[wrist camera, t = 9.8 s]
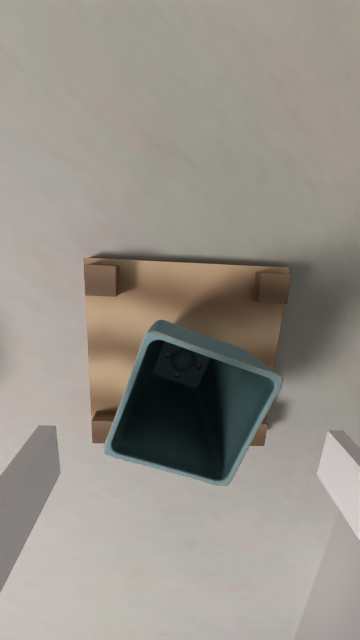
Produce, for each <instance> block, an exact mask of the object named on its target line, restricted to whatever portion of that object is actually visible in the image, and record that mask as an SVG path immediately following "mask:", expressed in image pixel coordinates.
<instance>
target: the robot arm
mask: <svg viewBox="0 0 360 640" xmlns="http://www.w3.org/2000/svg"><path fill="white" fill-rule="evenodd" d="M59 475H60V463H59V453H58V443H57V434H56V426H38V427H37V429H36V430H35V431H34V433H33V434H32V435H31V437H30V438H29V439H28V440H27V442H26V443H25V444H24V446H23V447H22V448H21V450H20V451H19V452H18V454H17V455H16V456H15V457H14V459H13V460H12V461H11V463H10V464H9V465H8V467H7V468H6V469H5V471H4V472H3V473H2V475H1V476H0V592H1V590H2V588H3V586H4V584H5V582H6V580H7V578H8V576H9V574H10V572H11V570H12V568H13V566H14V564H15V562H16V560H17V558H18V556H19V554H20V552H21V550H22V548H23V546H24V544H25V542H26V540H27V538H28V537H29V535H30V533H31V531H32V529H33V527H34V525H35V523H36V521H37V519H38V517H39V515H40V513H41V511H42V509H43V507H44V505H45V503H46V501H47V499H48V497H49V495H50V493H51V491H52V489H53V487H54V485H55V483H56V481H57V479H58V477H59ZM317 476H318V477H319V479H320V480H321V482H322V483H323V485H324V486H325V488H326V490H327V491H328V493H329V494H330V496H331V497H332V499H333V500H334V502H335V503H336V505H337V506H338V508H339V509H340V511H341V512H342V514H343V516H344V517H345V519H346V520H347V522H348V523H349V525H350V526H351V528H352V529H353V531H354V532H355V534H356V535H357V537H358V538H359V540H360V448H359V447H358V446H357V445H356V444H355V443H354V442H353V441H352V440H351V438H350V437H349V436H348V435H347V434H346V433H345V432H344V431H333V430H328V432H327V436H326V440H325V444H324V448H323V452H322V456H321V461H320V465H319V469H318V473H317Z"/></svg>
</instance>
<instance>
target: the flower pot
mask: <svg viewBox="0 0 360 640" xmlns="http://www.w3.org/2000/svg"><path fill="white" fill-rule="evenodd" d="M165 352H169V353H170V356H169V357H166V356H165ZM197 363H201V367H197V366H196V364H197ZM175 372H179V373H180V375H179V376H175ZM282 382H283V378H282V377H281V376H280V375H279V374H277V373H276V372H275V371H274V370H272V369H271V368H270V367H268V366H267V365H266V364H264V363H263V362H262V361H260V360H259V359H258V358H256V357H255V356H254V355H252V354H251V353H249V352H248V351H246V350H244V349H242V348H240V347H237V346H235V345H232V344H229V343H226V342H223V341H221V340H218V339H215V338H212V337H209V336H206V335H204V334H201V333H198V332H195V331H193V330H190V329H187V328H184V327H182V326H179V325H176V324H174V323H171V322H168V321H166V320H157V321H156V322H155V323H154V324H153V325H152V326H151V327H150V329H149V330H148V331H147V333H146V334H145V336H144V338H143V340H142V343H141V345H140V349H139V351H138V354H137V357H136V360H135V363H134V366H133V369H132V372H131V374H130V377H129V380H128V383H127V386H126V388H125V391H124V394H123V397H122V399H121V402H120V404H119V407H118V410H117V412H116V415H115V418H114V420H113V423H112V426H111V428H110V431H109V433H108V436H107V438H106V441H105V443H104V453H105V454H106V455H109V456H111V457H114V458H117V459H121V460H125V461H129V462H132V463H136V464H141V465H144V466H149V467H152V468H156V469H160V470H163V471H167V472H171V473H174V474H178V475H182V476H185V477H190V478H193V479H196V480H200V481H203V482H206V483H210V484H212V485H217V486H227V485H229V484H230V482H231V481H232V479H233V477H234V476H235V473H236V471H237V469H238V467H239V466H240V464H241V462H242V460H243V458H244V456H245V453H246V452H247V450H248V448H249V446H250V444H251V442H252V440H253V439H254V436H255V435H256V432H257V430H258V429H259V427H260V425H261V423H262V421H263V419H264V417H265V416H266V414H267V412H268V410H269V408H270V406H271V405H272V403H273V401H274V399H275V398H276V396H277V395H278V393H279V391H280V389H281V386H282Z"/></svg>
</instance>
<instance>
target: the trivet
mask: <svg viewBox="0 0 360 640" xmlns="http://www.w3.org/2000/svg"><path fill="white" fill-rule="evenodd" d="M289 270H290V268H287V267H269V266H248V265H228V264H207V263H187V262H166V261H145V260H125V259H104V258H84V277H85V296H86V314H87V334H88V355H89V375H90V396H91V416H92V440H93V443H105V441H106V438H107V436H108V433H109V431H110V428H111V426H112V423H113V420H114V418H115V415H116V412H117V410H118V407H119V404H120V402H121V399H122V397H123V394H124V391H125V388H126V386H127V383H128V380H129V377H130V374H131V372H132V369H133V366H134V363H135V360H136V357H137V354H138V351H139V349H140V345H141V343H142V340H143V338H144V336H145V334H146V333H147V331H148V330H149V329H150V327H151V326H152V325H153V324H154V323H155V322H156V321H157V320H166V321H168V322H171V323H174V324H176V325H179V326H182V327H184V328H187V329H190V330H193V331H195V332H198V333H201V334H204V335H206V336H209V337H212V338H215V339H218V340H221V341H223V342H226V343H229V344H232V345H235V346H237V347H240V348H242V349H244V350H246V351H248V352H249V353H251V354H252V355H254V356H255V357H256V358H258V359H259V360H260V361H262V362H263V363H264V364H266V365H267V366H268V367H270V368H271V369H272V370H274V366H275V359H276V353H277V347H278V340H279V334H280V327H281V321H282V315H283V308H284V304H287V299H288V293H289V286H290V280H291V274H289ZM165 356H166V357H169V356H170V353H169V352H165ZM196 366H197V367H201V363H197V364H196ZM179 375H180V373H179V372H175V376H179ZM266 417H267V414H266V416H265V417H264V419H263V421H262V423H261V425H260V427H259V429H258V430H257V432H256V435H255V436H254V439H253V440H252V442H251V444H250V446H264V444H265V437H266V431H267V425H268V424H267V423H266Z"/></svg>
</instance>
